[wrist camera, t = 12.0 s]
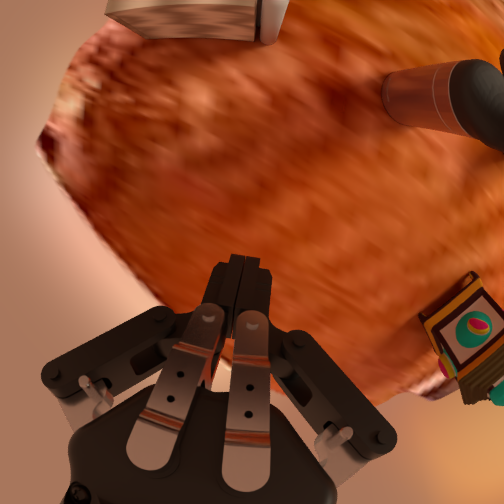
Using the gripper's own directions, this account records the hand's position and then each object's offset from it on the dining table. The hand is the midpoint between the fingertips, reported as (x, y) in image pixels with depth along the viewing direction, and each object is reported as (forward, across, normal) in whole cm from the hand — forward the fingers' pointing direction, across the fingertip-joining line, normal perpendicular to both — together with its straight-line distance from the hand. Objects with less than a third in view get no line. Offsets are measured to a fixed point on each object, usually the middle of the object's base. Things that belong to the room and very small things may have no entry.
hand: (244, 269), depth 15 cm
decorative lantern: (+30, -49, +29) cm, 64 cm away
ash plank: (+31, +13, -16) cm, 37 cm away
